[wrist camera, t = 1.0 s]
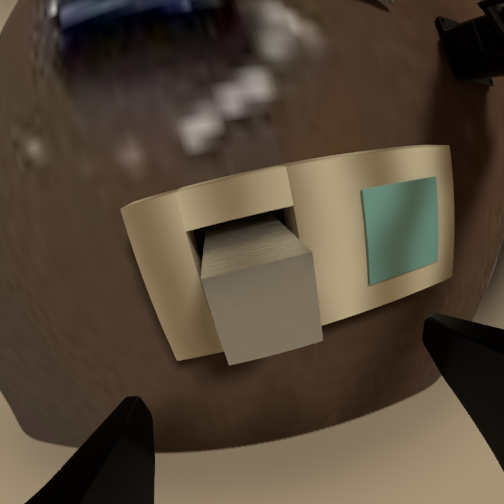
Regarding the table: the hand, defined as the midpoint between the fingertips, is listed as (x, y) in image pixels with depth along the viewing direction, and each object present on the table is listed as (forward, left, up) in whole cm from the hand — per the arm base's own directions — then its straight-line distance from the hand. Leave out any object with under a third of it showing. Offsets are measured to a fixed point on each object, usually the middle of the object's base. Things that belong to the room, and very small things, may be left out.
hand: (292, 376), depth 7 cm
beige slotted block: (-5, 0, -12) cm, 13 cm away
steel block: (0, 0, -12) cm, 12 cm away
